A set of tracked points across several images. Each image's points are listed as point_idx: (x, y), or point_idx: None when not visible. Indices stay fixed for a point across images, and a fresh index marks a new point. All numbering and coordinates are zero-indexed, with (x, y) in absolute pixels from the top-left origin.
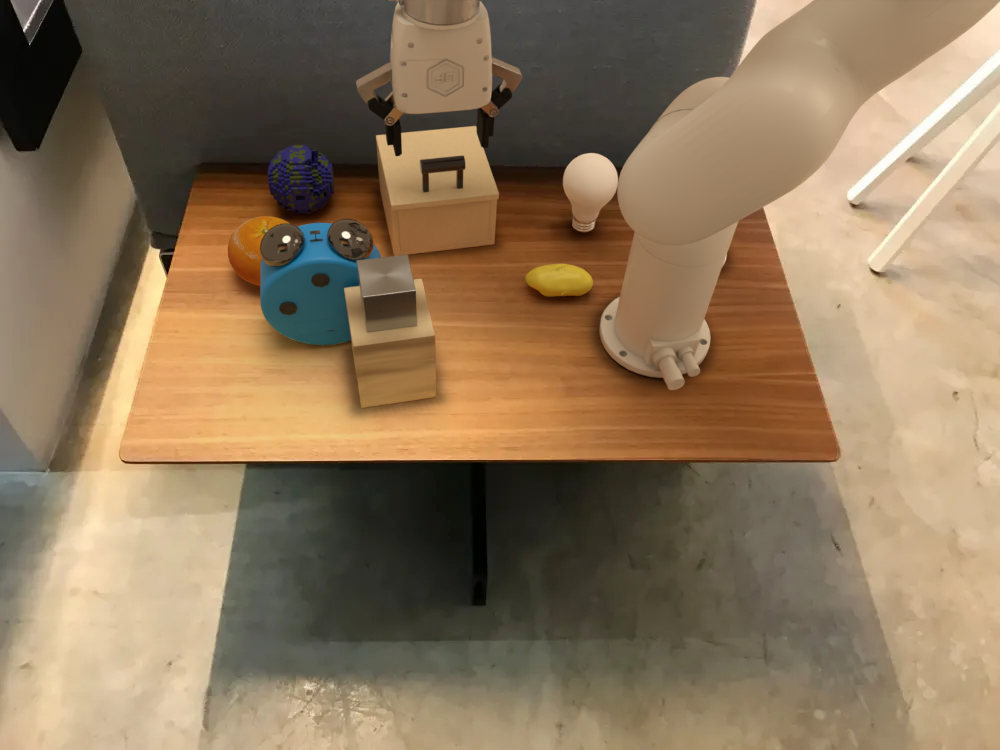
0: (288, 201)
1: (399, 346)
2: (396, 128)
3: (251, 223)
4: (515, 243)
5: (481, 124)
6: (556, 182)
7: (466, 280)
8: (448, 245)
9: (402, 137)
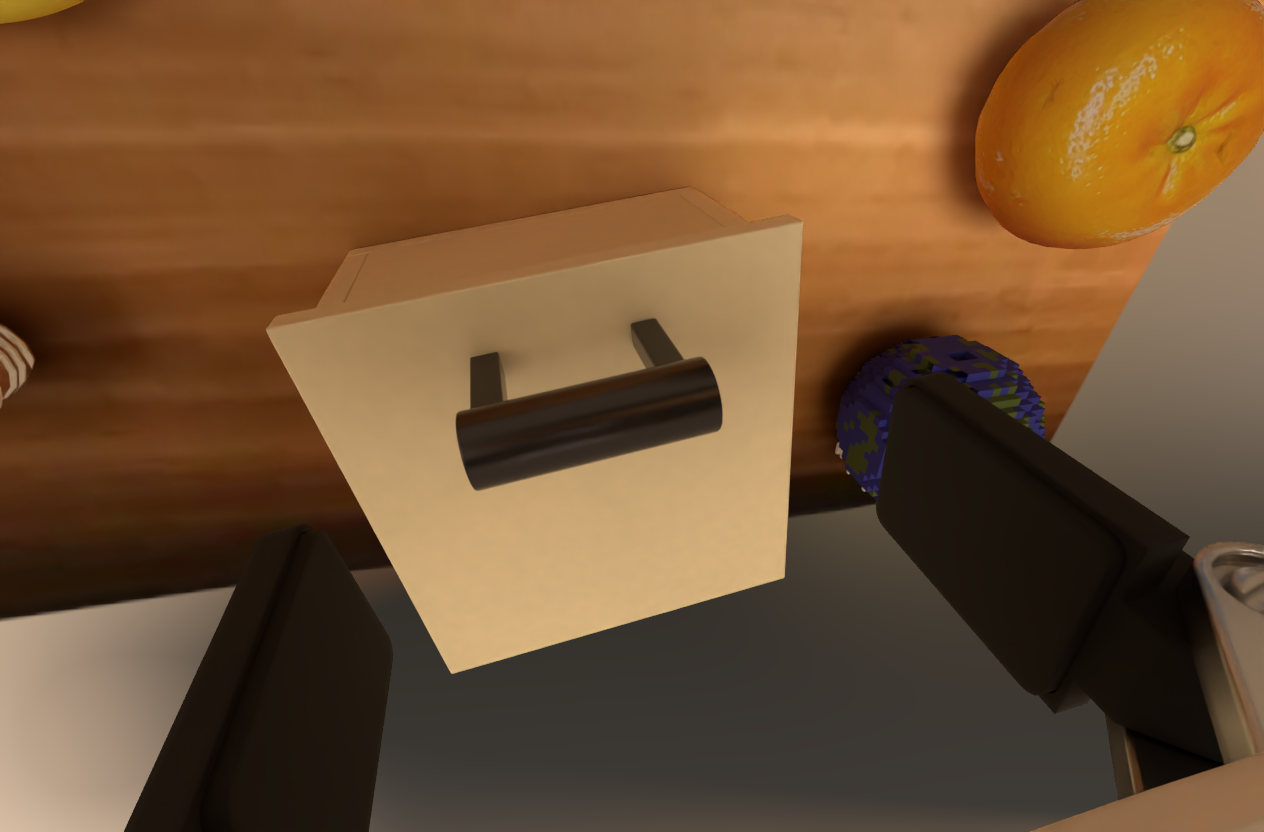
0: (984, 347)
1: None
2: (1145, 526)
3: (1217, 173)
4: (266, 258)
5: (290, 732)
6: (187, 538)
7: (433, 41)
8: (515, 223)
9: (705, 583)
